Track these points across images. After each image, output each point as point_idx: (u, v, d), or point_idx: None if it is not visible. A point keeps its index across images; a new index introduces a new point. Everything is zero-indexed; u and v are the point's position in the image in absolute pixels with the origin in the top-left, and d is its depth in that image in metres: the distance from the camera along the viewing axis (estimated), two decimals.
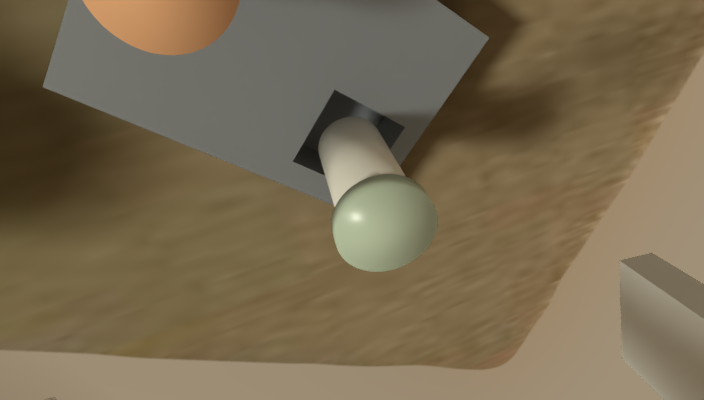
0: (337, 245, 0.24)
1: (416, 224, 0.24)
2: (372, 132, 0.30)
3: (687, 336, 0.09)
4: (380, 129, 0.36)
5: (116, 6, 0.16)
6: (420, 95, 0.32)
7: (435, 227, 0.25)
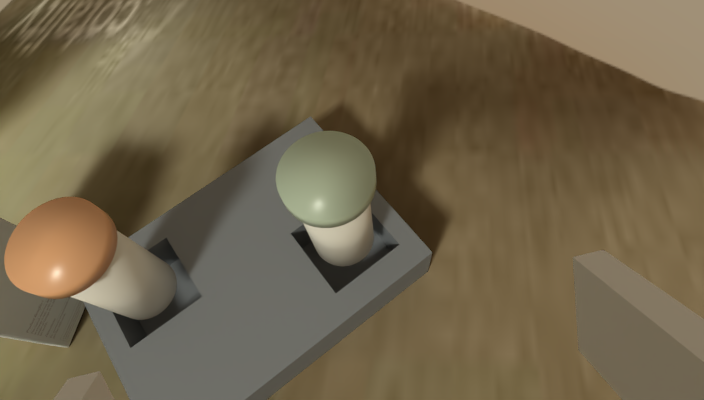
0: (315, 218, 0.24)
1: (332, 148, 0.26)
2: None
3: (628, 328, 0.09)
4: None
5: (51, 276, 0.24)
6: None
7: (345, 134, 0.26)
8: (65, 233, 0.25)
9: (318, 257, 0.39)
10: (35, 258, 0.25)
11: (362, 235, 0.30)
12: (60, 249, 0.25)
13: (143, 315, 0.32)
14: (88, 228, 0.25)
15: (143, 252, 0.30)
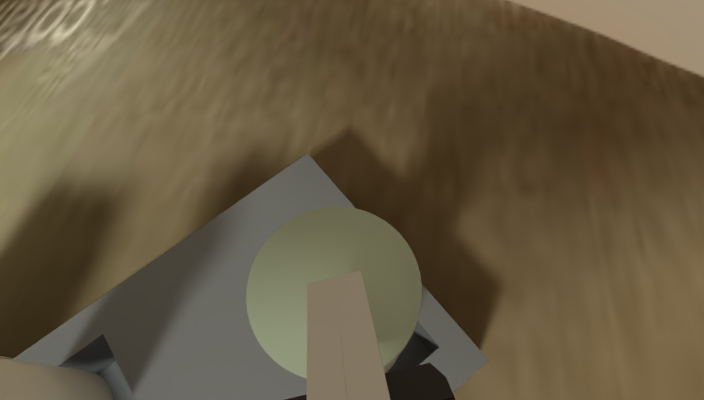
0: None
1: (344, 239, 0.15)
2: None
3: None
4: None
5: None
6: None
7: (365, 214, 0.15)
8: None
9: None
10: None
11: None
12: None
13: None
14: None
15: (47, 386, 0.19)
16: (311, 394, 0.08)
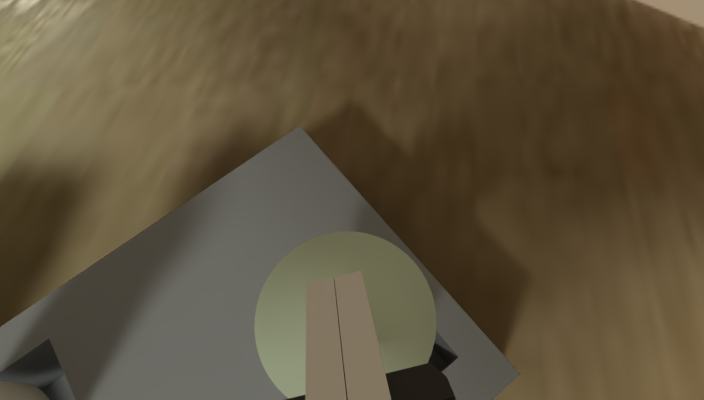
0: None
1: (356, 266, 0.15)
2: None
3: None
4: None
5: None
6: (331, 218, 0.22)
7: (377, 239, 0.15)
8: None
9: None
10: None
11: None
12: None
13: None
14: None
15: None
16: (310, 394, 0.08)
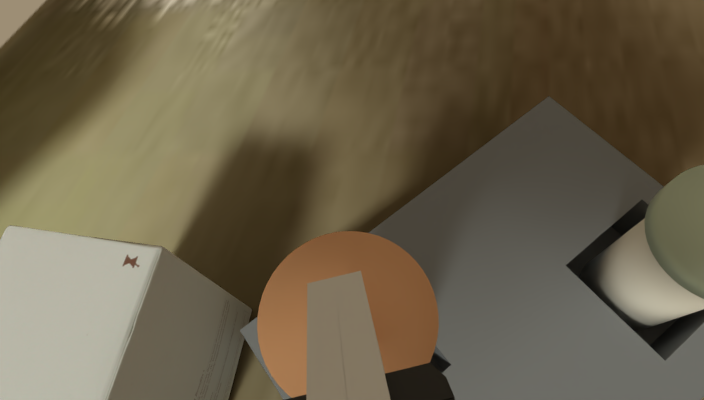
0: None
1: None
2: (601, 252, 0.25)
3: None
4: None
5: None
6: (600, 173, 0.26)
7: None
8: None
9: None
10: None
11: None
12: None
13: None
14: (401, 289, 0.14)
15: None
16: (311, 394, 0.08)
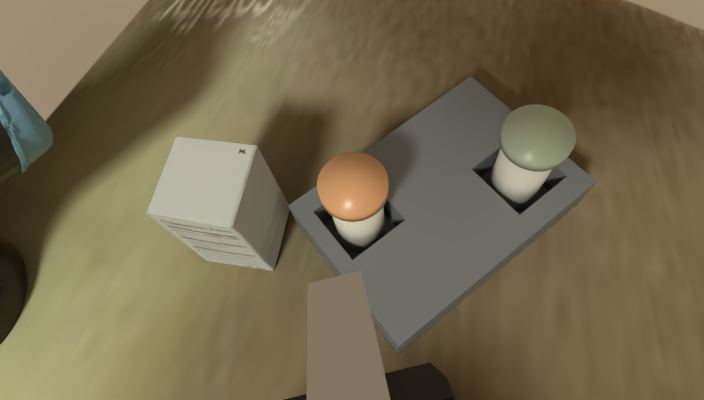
0: (538, 163, 0.35)
1: (540, 116, 0.37)
2: None
3: None
4: None
5: (357, 204, 0.35)
6: (496, 119, 0.44)
7: (547, 106, 0.37)
8: (358, 176, 0.36)
9: None
10: (341, 193, 0.35)
11: (542, 183, 0.40)
12: (358, 186, 0.35)
13: (368, 247, 0.43)
14: (374, 172, 0.36)
15: None
16: (311, 394, 0.08)
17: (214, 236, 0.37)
